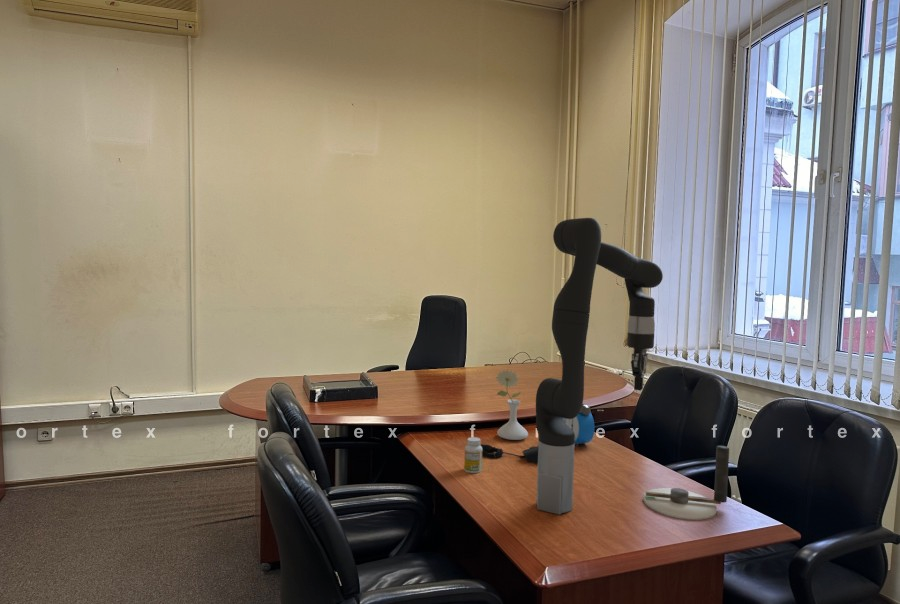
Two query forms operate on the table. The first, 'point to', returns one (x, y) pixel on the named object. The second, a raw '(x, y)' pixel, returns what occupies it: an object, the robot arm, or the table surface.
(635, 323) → the robot arm
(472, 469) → the supplement bottle
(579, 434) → the alarm clock
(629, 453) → the table surface
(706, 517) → the plate
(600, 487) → the table surface
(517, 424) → the flower in vase
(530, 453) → the computer mouse
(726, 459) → the dial
